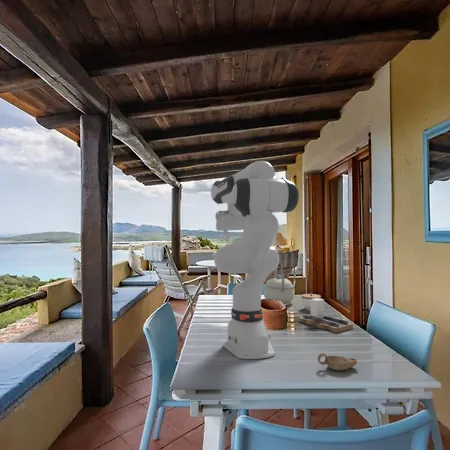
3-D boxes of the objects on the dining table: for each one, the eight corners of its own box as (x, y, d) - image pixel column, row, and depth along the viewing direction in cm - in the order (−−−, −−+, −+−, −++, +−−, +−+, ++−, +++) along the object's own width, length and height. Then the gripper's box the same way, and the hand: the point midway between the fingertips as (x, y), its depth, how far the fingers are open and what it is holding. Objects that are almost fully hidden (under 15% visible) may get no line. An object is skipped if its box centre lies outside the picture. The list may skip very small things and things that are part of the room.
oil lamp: (352, 364, 118) (352, 349, 118) (362, 373, 110) (362, 357, 110) (314, 364, 117) (314, 349, 117) (321, 373, 110) (321, 357, 110)
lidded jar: (303, 306, 203) (303, 290, 203) (322, 308, 199) (322, 292, 199) (299, 310, 193) (299, 293, 193) (319, 312, 189) (319, 295, 189)
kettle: (298, 307, 201) (298, 264, 201) (267, 307, 200) (267, 264, 200) (287, 298, 226) (288, 260, 226) (260, 298, 225) (260, 260, 225)
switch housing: (298, 321, 170) (298, 314, 170) (314, 318, 177) (314, 311, 177) (336, 332, 152) (336, 324, 152) (352, 328, 159) (352, 320, 159)
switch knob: (310, 317, 168) (310, 299, 168) (317, 316, 171) (317, 298, 171) (317, 319, 165) (317, 300, 165) (323, 317, 168) (323, 299, 168)
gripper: (217, 210, 155) (217, 241, 156) (259, 209, 161) (260, 239, 161) (213, 210, 161) (214, 240, 162) (255, 209, 167) (255, 238, 168)
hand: (237, 239), depth 162 cm, fingers open, 8 cm apart
